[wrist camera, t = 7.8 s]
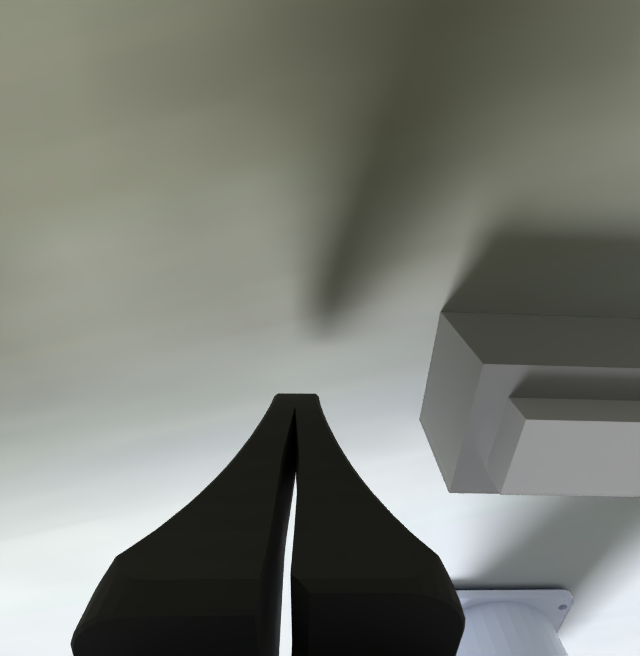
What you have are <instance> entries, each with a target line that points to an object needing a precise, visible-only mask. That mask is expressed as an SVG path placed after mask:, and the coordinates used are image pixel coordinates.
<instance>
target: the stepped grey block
mask: <svg viewBox="0 0 640 656" xmlns="http://www.w3.org/2000/svg"><path fill="white" fill-rule="evenodd" d="M419 420H420V422H421V424H422V427H423V429H424V432H425V434H426V437H427V439H428V442H429V444H430V447H431V449H432V452H433V454H434V457H435V459H436V462H437V464H438V467H439V469H440V472H441V474H442V477H443V479H444V482H445V484H446V486H447V489H448V491H449V493H487V494H500V495H555V496H615V497H640V318H612V317H583V316H553V315H524V314H495V313H465V312H440V317H439V322H438V327H437V333H436V338H435V343H434V348H433V353H432V358H431V363H430V368H429V373H428V379H427V384H426V389H425V394H424V399H423V404H422V409H421V414H420V419H419Z"/></svg>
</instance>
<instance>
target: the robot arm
mask: <svg viewBox="0 0 640 656" xmlns="http://www.w3.org/2000/svg"><path fill="white" fill-rule="evenodd" d="M295 475H296V483H297V500H296V514H295V527H294V540H293V551H292V563H291V614H292V656H568V655H567V653H566V651H565V649H564V647H563V645H562V643H561V641H560V639H559V637H558V635H557V632H558V630H559V628H560V626H561V624H562V622H563V621H564V619H565V617H566V615H567V613H568V611H569V609H570V607H571V605H572V603H573V601H574V598H573V597H572V595H571V593H570V592H569V591H568V590H455V588H454V586H453V583H452V581H451V579H450V577H449V575H448V573H447V571H446V569H445V567H444V565H443V563H442V561H441V559H440V558H439V556H438V555H437V554H436V553H435V552H433V551H432V550H431V549H430V548H429V547H427V546H426V545H425V544H424V543H423V542H421V541H420V540H419V539H418V538H417V537H416V536H414V535H413V534H412V533H411V532H410V531H409V530H408V529H407V528H406V527H405V526H404V525H403V524H402V523H401V522H400V521H399V520H397V519H396V518H395V517H394V516H393V515H392V513H391V512H390V511H389V510H388V509H387V508H386V507H385V506H384V505H383V504H382V503H381V501H380V500H379V499H378V498H377V497H376V496H375V495H374V494H373V493H372V491H371V490H370V489H369V488H368V486H367V485H366V484H365V483H364V481H363V480H362V479H361V478H360V476H359V475H358V474H357V472H356V471H355V469H354V468H353V467H352V465H351V464H350V462H349V461H348V459H347V458H346V456H345V454H344V453H343V451H342V449H341V448H340V446H339V444H338V443H337V441H336V439H335V437H334V435H333V433H332V431H331V429H330V427H329V425H328V423H327V421H326V418H325V416H324V413H323V411H322V408H321V405H320V401H319V397H318V396H317V395H316V394H277V395H276V396H274V399H273V401H272V403H271V405H270V407H269V409H268V410H267V412H266V414H265V415H264V417H263V419H262V420H261V422H260V423H259V425H258V426H257V428H256V429H255V431H254V432H253V434H252V435H251V437H250V438H249V439H248V441H247V442H246V443H245V445H244V446H243V447H242V448H241V450H240V451H239V452H238V454H237V455H236V456H235V457H234V458H233V460H232V461H231V462H230V463H229V464H228V465H227V467H226V468H225V469H224V470H223V471H222V472H221V473H220V474H219V475H218V476H217V477H216V478H215V479H214V480H213V481H212V482H211V483H210V484H209V485H208V486H207V487H206V488H205V489H204V490H203V491H202V492H201V493H200V494H199V495H198V496H197V497H195V498H194V499H193V500H192V501H191V502H190V503H189V504H188V505H186V506H185V507H184V508H183V509H181V510H180V511H179V512H178V513H176V514H175V515H174V516H173V517H172V518H170V519H169V520H168V521H167V522H165V523H164V524H163V525H162V526H160V527H159V528H158V529H156V530H155V531H154V532H152V533H151V534H149V535H148V536H146V537H145V538H143V539H142V540H140V541H139V542H137V543H136V544H134V545H133V546H132V547H130V548H129V549H127V550H126V551H124V552H123V553H121V554H119V555H118V556H116V557H115V559H114V561H113V562H112V564H111V565H110V567H109V569H108V570H107V572H106V573H105V575H104V576H103V578H102V580H101V581H100V583H99V585H98V586H97V588H96V590H95V591H94V593H93V595H92V597H91V599H90V601H89V603H88V605H87V607H86V609H85V611H84V613H83V615H82V617H81V619H80V621H79V623H78V625H77V627H76V629H75V631H74V633H73V637H72V640H71V648H72V652H73V656H279V643H280V624H281V606H282V588H283V571H284V554H285V545H286V537H287V530H288V523H289V516H290V509H291V503H292V496H293V489H294V482H295Z"/></svg>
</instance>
